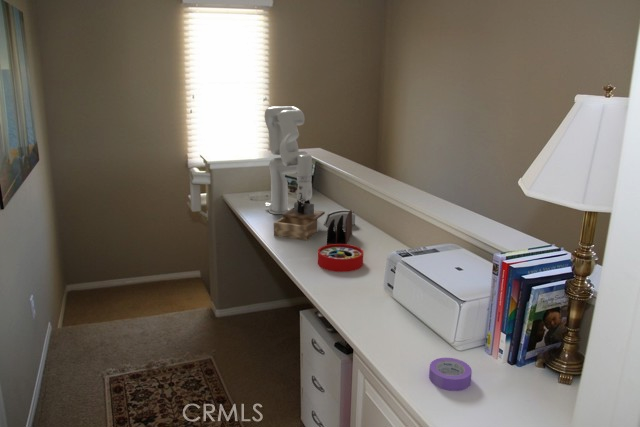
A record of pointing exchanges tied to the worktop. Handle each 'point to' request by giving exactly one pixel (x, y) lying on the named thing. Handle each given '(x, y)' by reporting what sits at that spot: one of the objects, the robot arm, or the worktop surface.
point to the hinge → (337, 215)
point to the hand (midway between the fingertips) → (304, 210)
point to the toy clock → (340, 257)
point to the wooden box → (295, 228)
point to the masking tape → (450, 381)
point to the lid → (308, 212)
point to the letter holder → (340, 231)
